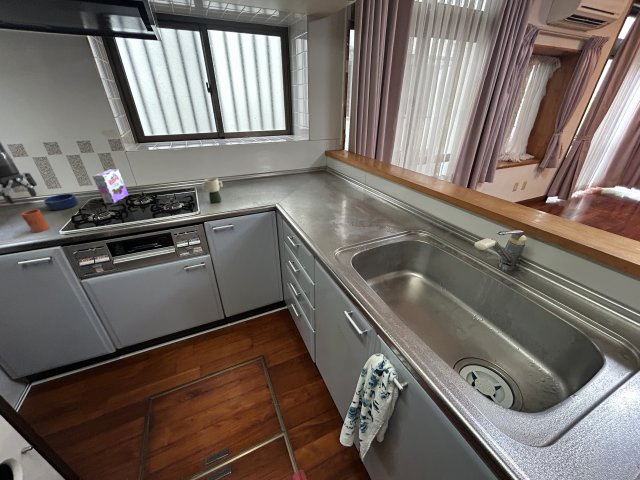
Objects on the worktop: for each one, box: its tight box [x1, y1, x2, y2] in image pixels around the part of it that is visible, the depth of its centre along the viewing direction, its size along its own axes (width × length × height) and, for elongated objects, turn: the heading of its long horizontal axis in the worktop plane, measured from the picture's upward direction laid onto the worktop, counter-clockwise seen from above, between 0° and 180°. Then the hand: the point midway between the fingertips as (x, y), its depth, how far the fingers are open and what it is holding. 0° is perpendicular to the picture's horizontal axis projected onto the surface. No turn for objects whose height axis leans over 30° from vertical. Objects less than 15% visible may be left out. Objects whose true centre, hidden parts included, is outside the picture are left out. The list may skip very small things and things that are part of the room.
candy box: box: [92, 168, 130, 204], centre depth 155 cm, size 14×6×16 cm, turn 179°
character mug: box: [201, 177, 223, 203], centre depth 151 cm, size 11×7×13 cm, turn 116°
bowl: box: [43, 193, 79, 211], centre depth 150 cm, size 13×13×5 cm
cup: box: [20, 209, 51, 234], centre depth 124 cm, size 6×6×9 cm
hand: (23, 199), depth 119 cm, fingers open, 8 cm apart
